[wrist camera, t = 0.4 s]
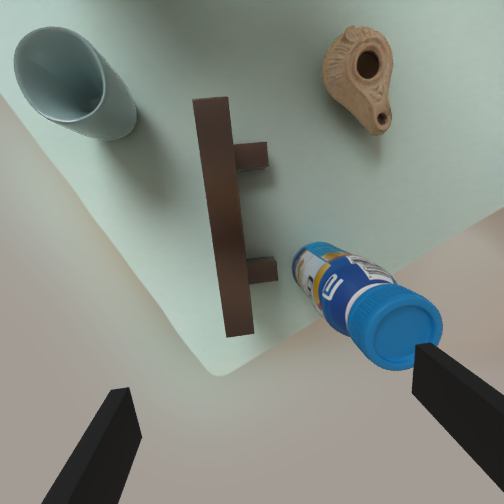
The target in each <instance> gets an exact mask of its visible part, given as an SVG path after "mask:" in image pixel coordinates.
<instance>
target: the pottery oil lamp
mask: <svg viewBox="0 0 504 504" xmlns="http://www.w3.org/2000/svg"><path fill="white" fill-rule="evenodd" d="M392 69H393V56H392V51H391V48H390V45H389V44H388V41H387V40H386V38H385V37H384V36H383V35H382V34H381V33H379V32H378V31H375V30H373V29H371V28H368V27H355V26H349V27H348V28H347V29H346V30H345V32H344V33H343V34H341V35H340V36H339V37H338V38H337V39H336V40H335V41H334V42H333V43H332V45H331V46H330V48H329V49H328V51H327V53H326V55H325V57H324V61H323V66H322V80H323V84H324V86H325V88H326V90H327V92H328V93H329V95H330V96H331V97H332V98H333V99H334V100H335V101H337V102H338V103H340V104H341V105H342V106H344V107H345V108H346V109H347V110H349V111H350V112H351V113H352V114H353V116H354V117H355V118H356V119H357V120H358V121H359V123H360V124H361V125H362V126H363V127H364V128H365V129H366V130H367V131H368V132H369V133H371V134H372V135H376V136H377V135H381V134H383V133H384V132H385V131H386V130H387V129H388V128H389V126H390V124H391V120H392V114H391V109H390V105H389V99H388V91H389V83H390V78H391V73H392Z"/></svg>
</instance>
